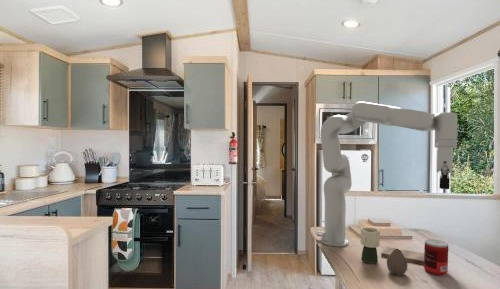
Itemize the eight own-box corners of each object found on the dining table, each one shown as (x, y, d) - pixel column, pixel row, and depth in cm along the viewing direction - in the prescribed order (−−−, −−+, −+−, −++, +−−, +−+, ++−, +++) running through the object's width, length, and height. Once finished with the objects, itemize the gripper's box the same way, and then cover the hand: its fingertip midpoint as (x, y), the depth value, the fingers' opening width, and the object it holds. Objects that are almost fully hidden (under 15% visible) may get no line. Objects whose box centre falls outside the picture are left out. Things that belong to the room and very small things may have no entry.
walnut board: (381, 256, 136) (381, 253, 136) (385, 249, 145) (385, 246, 145) (424, 264, 128) (424, 261, 128) (426, 257, 136) (426, 253, 136)
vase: (409, 278, 115) (410, 253, 115) (388, 276, 117) (389, 252, 117) (404, 270, 122) (404, 247, 122) (384, 268, 123) (385, 245, 123)
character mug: (367, 256, 137) (368, 225, 136) (384, 261, 131) (385, 229, 131) (354, 262, 129) (354, 230, 129) (371, 268, 124) (372, 234, 124)
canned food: (447, 270, 123) (448, 241, 123) (447, 277, 116) (448, 247, 116) (424, 265, 127) (425, 237, 127) (423, 272, 120) (423, 243, 120)
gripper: (435, 143, 138) (434, 184, 138) (433, 144, 123) (432, 189, 123) (456, 144, 134) (455, 185, 134) (457, 144, 119) (456, 191, 119)
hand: (444, 187), depth 129 cm, fingers open, 9 cm apart
